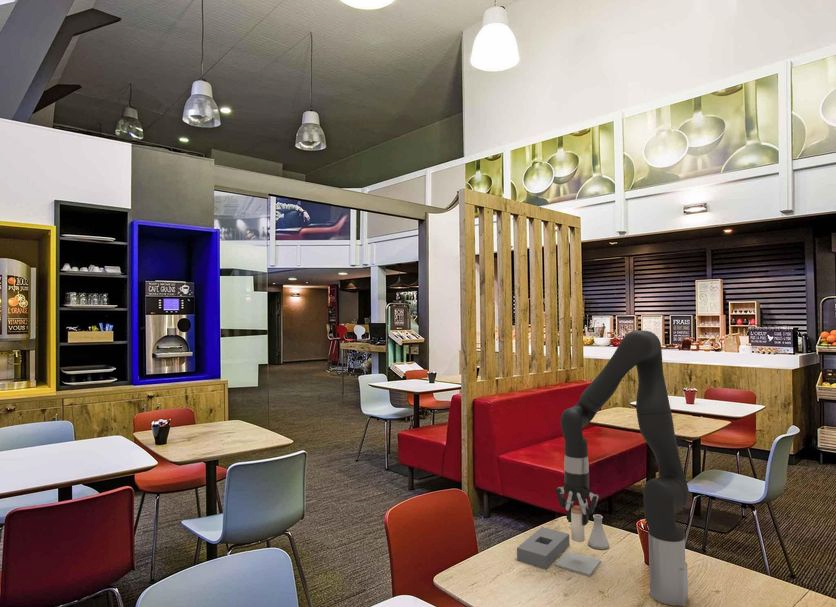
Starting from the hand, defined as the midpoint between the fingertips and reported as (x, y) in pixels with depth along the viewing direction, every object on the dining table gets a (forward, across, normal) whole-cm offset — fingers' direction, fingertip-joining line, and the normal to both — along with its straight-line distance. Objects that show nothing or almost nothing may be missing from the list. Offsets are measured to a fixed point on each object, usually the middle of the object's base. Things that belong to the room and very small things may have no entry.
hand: (577, 522), depth 162 cm
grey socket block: (+13, +12, -1) cm, 18 cm away
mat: (+13, 0, 0) cm, 13 cm away
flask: (+13, -1, -17) cm, 21 cm away
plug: (+5, 0, 0) cm, 5 cm away
